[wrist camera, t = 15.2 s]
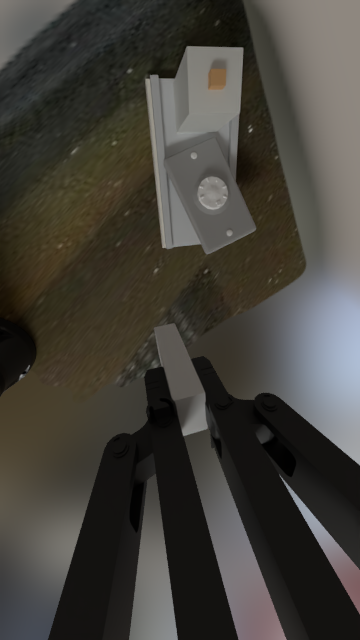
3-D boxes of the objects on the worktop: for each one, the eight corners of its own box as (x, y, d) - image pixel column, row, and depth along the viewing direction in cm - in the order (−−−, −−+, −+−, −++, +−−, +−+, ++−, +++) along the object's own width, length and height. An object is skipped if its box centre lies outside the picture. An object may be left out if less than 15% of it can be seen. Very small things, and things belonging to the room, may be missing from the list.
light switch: (217, 129, 30) (260, 226, 32) (207, 158, 36) (243, 239, 37) (163, 153, 29) (209, 251, 31) (161, 179, 35) (200, 260, 37)
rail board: (162, 246, 39) (171, 259, 30) (145, 83, 29) (152, 30, 20) (229, 239, 41) (257, 249, 32) (237, 83, 30) (280, 35, 22)
